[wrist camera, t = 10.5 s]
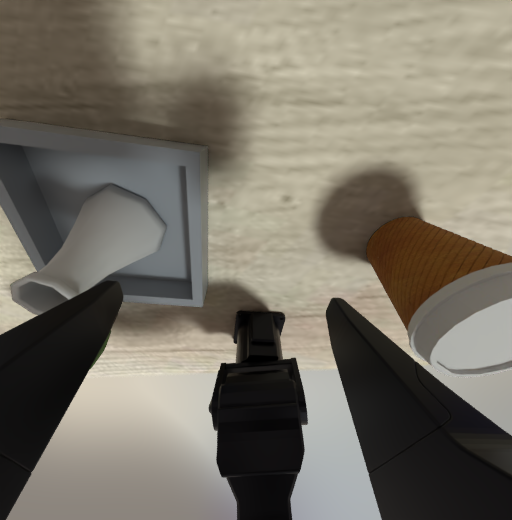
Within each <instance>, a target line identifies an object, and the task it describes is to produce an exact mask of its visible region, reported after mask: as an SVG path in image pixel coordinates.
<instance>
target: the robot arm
mask: <svg viewBox="0 0 512 520" xmlns="http://www.w3.org/2000/svg"><path fill="white" fill-rule="evenodd" d="M123 298H124V297H123V292H122V289H121V285H120V283H119V281H116V280H106V281H104V282H102V283H100V284H98V285H96V286H94V287H92V288H90V289H88V290H86V291H85V292H83V293H81V294H79V295H77V296H75V297H73V298H71V299H69V300H67V301H65V302H63V303H61V304H59V305H57V306H55V307H54V308H52V309H50V310H48V311H46V312H44V313H42V314H40V315H38V316H36V317H34V318H32V319H30V320H28V321H26V322H24V323H22V324H21V325H19V326H17V327H15V328H13V329H11V330H9V331H7V332H5V333H4V334H1V335H0V520H6V519H7V517H8V515H9V513H10V511H11V509H12V508H13V506H14V504H15V502H16V501H17V499H18V497H19V495H20V493H21V491H22V490H23V488H24V486H25V484H26V483H27V481H28V479H29V477H30V476H31V472H32V471H33V470H34V468H35V466H36V464H37V462H38V461H39V459H40V457H41V455H42V454H43V452H44V450H45V448H46V446H47V445H48V443H49V441H50V439H51V437H52V436H53V434H54V432H55V430H56V428H57V427H58V425H59V423H60V421H61V419H62V417H63V416H64V414H65V412H66V411H67V409H68V407H69V405H70V403H71V402H72V400H73V398H74V396H75V394H76V393H77V391H78V389H79V387H80V385H81V384H82V382H83V380H84V378H85V376H86V375H87V373H88V371H89V369H90V367H91V366H92V364H93V362H94V360H95V358H96V357H97V355H98V353H99V351H100V350H101V348H102V346H103V344H104V342H105V341H106V339H107V337H108V335H109V333H110V330H111V328H112V326H113V323H114V321H115V319H116V316H117V314H118V312H119V309H120V307H121V304H122V302H123ZM281 317H282V318H281ZM326 319H327V324H328V330H329V336H330V341H331V346H332V350H333V354H334V357H335V361H336V364H337V368H338V371H339V374H340V378H341V381H342V385H343V388H344V391H345V395H346V398H347V402H348V405H349V409H350V412H351V415H352V418H353V422H354V425H355V429H356V432H357V436H358V439H359V442H360V446H361V449H362V453H363V456H364V460H365V462H366V466H367V470H368V472H369V477H370V481H371V484H372V487H373V491H374V494H375V498H376V501H377V504H378V508H379V511H380V514H381V518H382V520H512V436H511V435H510V434H508V433H506V432H505V431H504V430H503V429H501V428H500V427H498V426H497V425H496V424H495V423H493V422H492V421H491V420H490V419H488V418H487V417H486V416H484V415H483V414H482V413H480V412H479V411H478V410H476V409H475V408H473V407H472V406H471V405H470V404H469V403H467V402H466V401H465V400H463V399H462V398H461V397H459V396H458V395H457V394H455V393H454V392H453V391H452V390H450V389H449V388H448V387H447V386H445V385H444V384H443V383H441V382H440V381H439V380H438V379H437V378H435V377H434V376H433V375H432V374H430V373H429V372H428V371H427V370H426V369H424V368H423V367H422V366H421V365H420V364H419V363H417V362H416V361H414V359H413V358H411V357H410V356H409V355H408V354H407V353H406V352H404V351H403V350H402V349H401V348H400V347H399V346H397V345H396V344H395V343H394V342H393V341H391V340H390V339H389V338H388V337H387V336H386V335H384V334H383V333H382V332H381V331H380V330H379V329H377V328H376V327H375V326H374V325H373V324H372V323H370V322H369V321H368V320H367V319H366V318H364V317H363V316H362V315H361V314H360V313H359V312H357V311H356V310H355V309H354V308H353V307H352V306H350V305H349V304H348V303H347V302H346V301H344V300H343V299H342V298H332V299H331V301H330V303H329V305H328V308H327V310H326ZM284 322H285V315H284V314H277V313H263V312H248V311H238V312H237V314H236V323H235V332H234V343H235V344H237V353H236V363H230V364H226V363H221V366H220V370H219V371H218V375H217V379H216V384H215V388H214V392H213V396H212V400H211V402H210V404H209V412H210V413H211V414H212V420H213V427H214V430H216V431H218V433H217V435H218V436H217V437H218V438H217V459H216V460H217V465H218V468H219V471H220V474H221V476H222V477H226V478H227V480H228V483H229V485H230V487H231V490H232V492H233V494H234V496H235V499H236V501H237V520H292V514H291V503H290V498H291V495H292V491H293V488H294V485H295V482H296V479H297V475H298V473H299V472H300V469H301V465H302V461H303V455H304V441H303V434H302V426H301V425H307V424H308V422H307V421H308V420H307V409H306V402H305V395H304V390H303V386H302V382H301V378H300V374H299V369H298V365H297V361H296V358H291V359H283V356H282V349H281V341H280V335H281V332H282V329H283V325H284Z"/></svg>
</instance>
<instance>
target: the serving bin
mask: <svg viewBox="0 0 512 520" xmlns="http://www.w3.org/2000/svg"><path fill="white" fill-rule="evenodd" d="M111 184H112V185H114V186H117V187H119V188H121V189H123V190H126V191H128V192H130V193H132V194H135V195H137V196H139V197H141V198H143V199H146V200H147V201H148V202H149V204H150V205H151V206H152V208H153V209H154V210H155V212H156V213H157V214H158V215H159V217H160V218H161V219H162V221H163V222H164V223H165V224H166V226H167V229H166V232H165V235H164V238H163V241H162V244H161V247H160V250H159V251H157V252H155V253H153V254H150V255H148V256H146V257H144V258H142V259H139V260H137V261H135V262H133V263H131V264H129V265H127V266H125V267H123V268H121V269H119V270H117V271H115V272H113V273H111V274H109V275H108V276H106V277H105V278H104V279H102V280H101V281H99V282H98V283H97V284H95V285H94V286H96V285H98V284H100V283H102V282H104V281H106V280H116V281H119V283H120V285H121V289H122V292H123V297H124V298H123V302H134V303H149V304H163V305H177V306H192V307H203V304H204V300H205V296H206V292H207V288H208V146H204V145H197V144H189V143H182V142H175V141H167V140H160V139H152V138H145V137H138V136H130V135H123V134H116V133H108V132H101V131H93V130H86V129H79V128H71V127H64V126H56V125H49V124H42V123H34V122H27V121H20V120H12V119H0V205H1V207H2V209H3V210H4V212H5V214H6V216H7V218H8V219H9V221H10V223H11V225H12V227H13V229H14V230H15V232H16V234H17V236H18V238H19V239H20V241H21V243H22V245H23V247H24V248H25V250H26V252H27V254H28V256H29V257H30V259H31V261H32V263H33V265H34V267H35V268H36V270H37V272H38V271H40V270H41V269H42V268H44V267H45V266H46V265H47V264H48V263H49V262H50V261H51V259H52V258H53V257H54V256H55V255H56V254H57V253H58V251H59V250H60V249H61V248H62V246H63V244H64V243H65V241H66V239H67V237H68V235H69V233H70V231H71V230H72V228H73V226H74V224H75V222H76V220H77V217H78V215H79V213H80V211H81V208H82V206H83V204H84V202H85V200H86V199H87V198H89V197H90V196H92V195H94V194H95V193H97V192H99V191H101V190H102V189H104V188H106V187H107V186H109V185H111ZM94 286H93V287H94ZM91 288H92V287H91Z"/></svg>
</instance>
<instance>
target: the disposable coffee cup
mask: <svg viewBox="0 0 512 520" xmlns="http://www.w3.org/2000/svg"><path fill="white" fill-rule="evenodd" d="M366 254H367V258H368V260H369V261H370V263H371V265H372V267H373V269H374V271H375V272H376V274H377V276H378V278H379V280H380V282H381V283H382V285H383V287H384V289H385V291H386V293H387V294H388V296H389V298H390V300H391V302H392V304H393V305H394V307H395V309H396V311H397V313H398V315H399V316H400V318H401V320H402V322H403V324H404V326H405V328H406V329H407V331H408V337H409V340H410V342H409V345H410V347H411V349H412V351H413V352H414V354H415V355H416V356H417V357H419V358H420V359H422V360H424V361H427V362H428V363H429V364H430V365H431V366H432V367H433V368H434V369H435V370H436V371H437V372H440V373H442V374H444V375H448V376H452V377H477V376H486V375H491V374H496V373H501V372H504V371H508V370H511V369H512V256H510V255H507V254H504V253H502V252H500V251H497V250H493V249H492V248H490V247H486V246H484V245H482V244H479V243H476V242H475V241H472V240H468V239H467V238H464V237H461V236H460V235H457V234H454V233H453V232H449V231H447V230H444V229H442V228H440V227H437V226H435V225H432V224H431V225H430V223H427V222H425V221H422V220H420V219H418V218H415V217H401V218H397V219H394V220H392V221H390V222H388V223H386V224H385V225H383V226H382V227H380V228H379V229H378V230H377V231H376V232H375V233H374V234H373V236H372V237H371V238H370V240H369V242H368V245H367V249H366Z"/></svg>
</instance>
